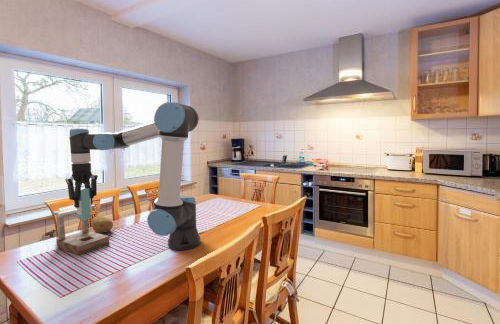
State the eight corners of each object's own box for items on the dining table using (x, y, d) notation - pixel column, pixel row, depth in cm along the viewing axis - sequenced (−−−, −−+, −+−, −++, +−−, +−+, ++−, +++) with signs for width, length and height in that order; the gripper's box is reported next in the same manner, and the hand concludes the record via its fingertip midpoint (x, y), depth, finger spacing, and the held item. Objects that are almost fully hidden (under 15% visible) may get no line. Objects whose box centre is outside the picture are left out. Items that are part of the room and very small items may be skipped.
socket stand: (110, 243, 132) (108, 208, 130) (78, 256, 119) (75, 217, 117) (88, 237, 140) (86, 204, 139) (56, 248, 127) (53, 211, 126)
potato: (100, 237, 140) (99, 222, 140) (87, 232, 148) (86, 217, 147) (118, 231, 148) (118, 217, 148) (105, 227, 156) (104, 213, 155)
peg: (90, 217, 128) (89, 188, 126) (83, 220, 124) (81, 189, 123) (86, 216, 129) (84, 187, 128) (78, 218, 126) (76, 188, 125)
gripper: (94, 160, 133) (97, 207, 136) (56, 164, 119) (60, 216, 121) (103, 161, 130) (106, 209, 132) (66, 164, 115) (69, 219, 117)
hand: (84, 213), depth 127 cm, fingers closed on peg, 4 cm apart
